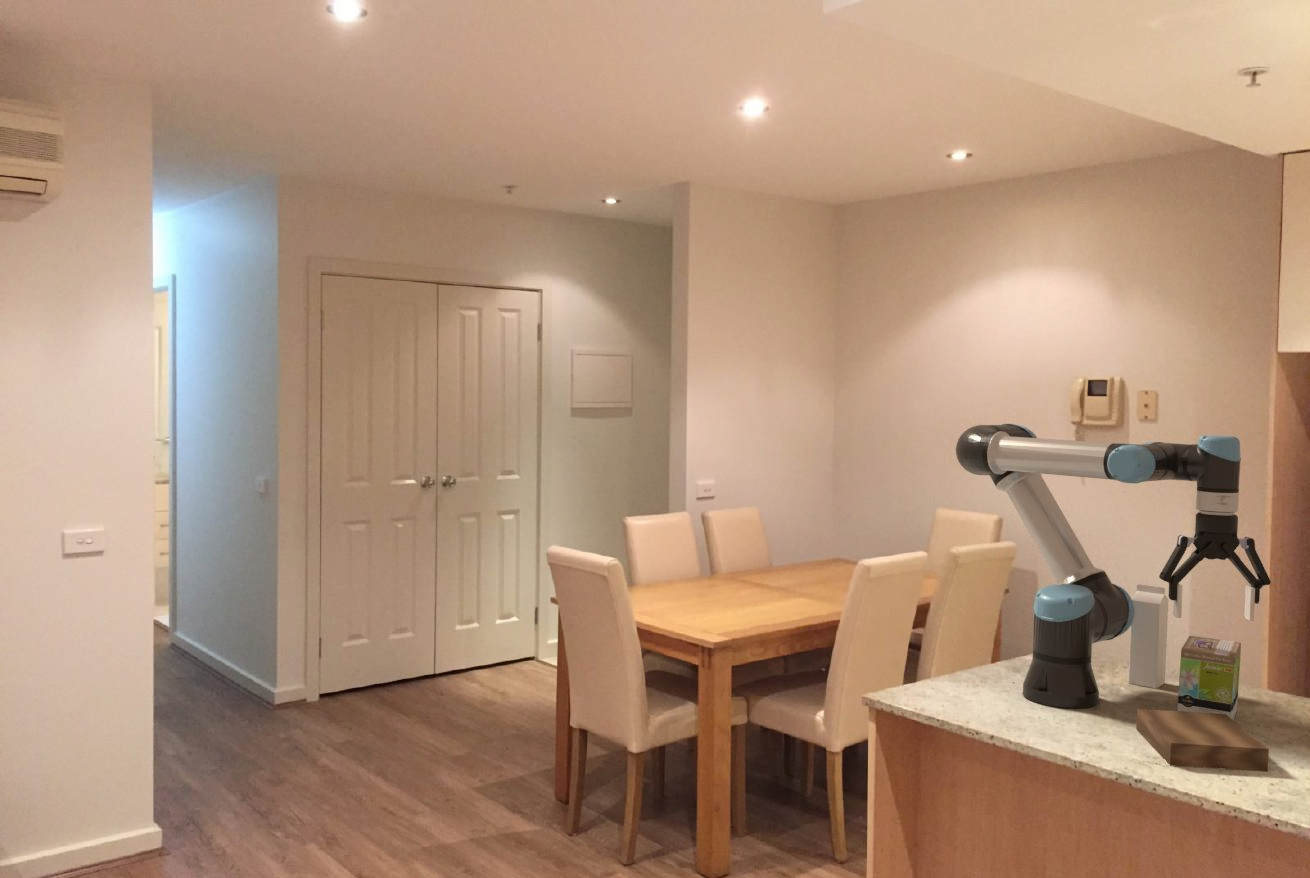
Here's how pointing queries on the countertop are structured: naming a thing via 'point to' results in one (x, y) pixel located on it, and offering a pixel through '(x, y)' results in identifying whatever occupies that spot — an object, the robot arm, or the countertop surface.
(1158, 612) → the milk
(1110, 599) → the robot arm
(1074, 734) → the countertop surface
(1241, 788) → the countertop surface
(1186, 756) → the walnut plinth
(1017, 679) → the countertop surface
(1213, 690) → the tea box
